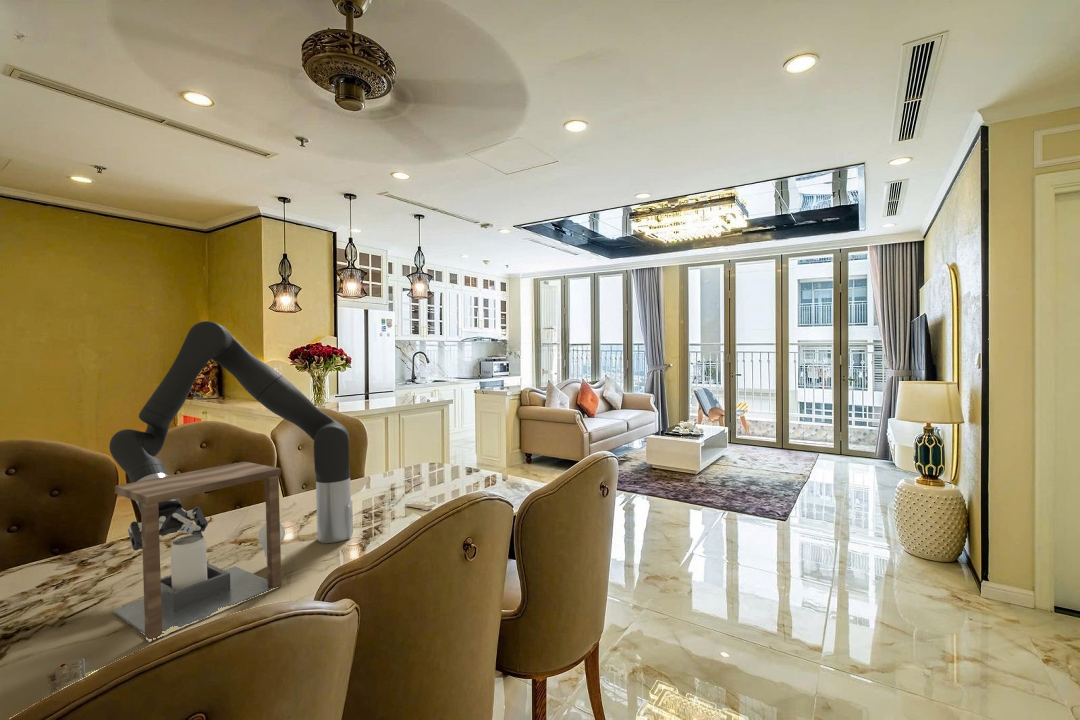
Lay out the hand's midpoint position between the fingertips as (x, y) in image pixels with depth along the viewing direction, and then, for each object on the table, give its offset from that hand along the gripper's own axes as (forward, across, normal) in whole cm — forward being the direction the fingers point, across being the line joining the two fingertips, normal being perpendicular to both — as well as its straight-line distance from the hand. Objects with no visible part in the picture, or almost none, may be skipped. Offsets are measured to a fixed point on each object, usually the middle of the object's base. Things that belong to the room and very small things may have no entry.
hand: (179, 553), depth 111 cm
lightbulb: (+10, +18, +2) cm, 21 cm away
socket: (+12, 0, -1) cm, 12 cm away
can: (+9, 0, +2) cm, 9 cm away
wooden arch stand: (+15, 0, -3) cm, 15 cm away
